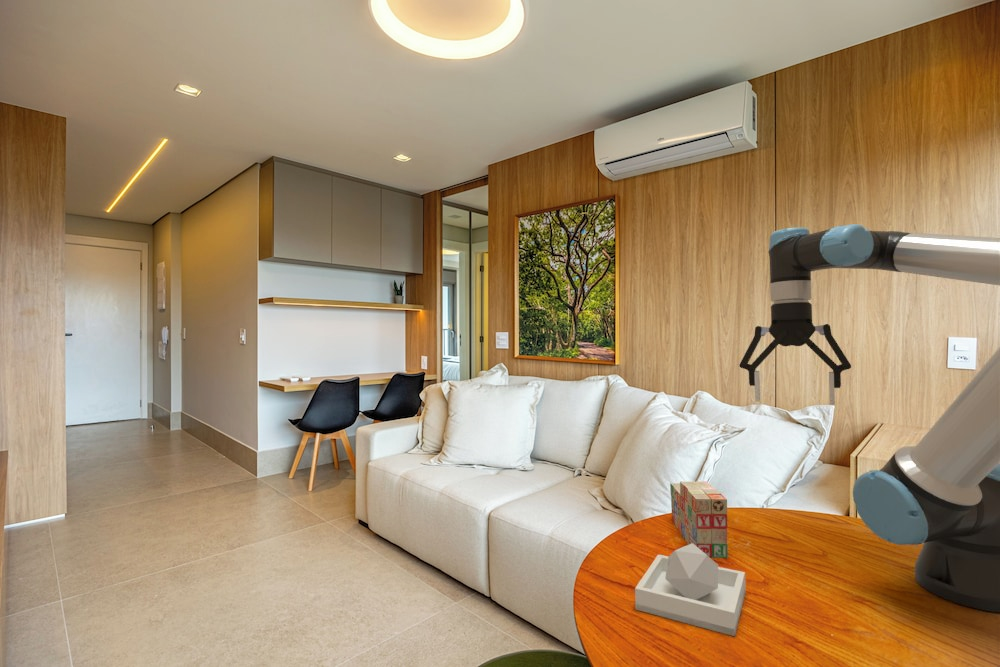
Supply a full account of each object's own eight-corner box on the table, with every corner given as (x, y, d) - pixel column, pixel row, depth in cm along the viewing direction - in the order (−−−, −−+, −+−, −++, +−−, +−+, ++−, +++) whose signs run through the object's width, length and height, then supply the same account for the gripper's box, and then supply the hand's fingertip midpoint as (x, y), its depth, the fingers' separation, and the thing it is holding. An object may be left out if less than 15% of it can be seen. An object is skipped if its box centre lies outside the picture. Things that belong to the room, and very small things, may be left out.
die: (688, 581, 91) (656, 540, 91) (731, 568, 87) (698, 526, 86) (685, 618, 84) (650, 575, 84) (732, 607, 80) (695, 561, 79)
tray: (745, 592, 88) (745, 572, 88) (734, 636, 75) (734, 612, 75) (658, 572, 95) (658, 554, 95) (635, 609, 83) (635, 588, 83)
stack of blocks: (670, 520, 123) (669, 470, 123) (697, 520, 122) (695, 470, 122) (696, 558, 102) (695, 497, 102) (728, 559, 101) (727, 498, 101)
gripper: (861, 300, 103) (864, 403, 102) (729, 306, 116) (731, 398, 115) (865, 297, 96) (868, 407, 96) (724, 304, 109) (727, 401, 109)
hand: (793, 402), depth 106 cm, fingers open, 13 cm apart
